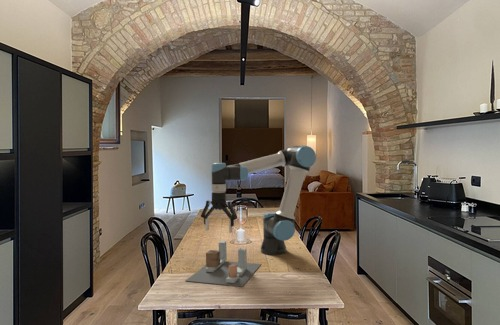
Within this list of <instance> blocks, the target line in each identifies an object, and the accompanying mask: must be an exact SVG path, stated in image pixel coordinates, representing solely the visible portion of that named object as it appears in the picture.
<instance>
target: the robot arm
mask: <svg viewBox="0 0 500 325" xmlns="http://www.w3.org/2000/svg"><path fill="white" fill-rule="evenodd" d="M316 160H317V154H316V152H315V150H314V148H312V147H311V146H308V145H294V146H290V147H288V148H285V149H282V150H279V151H278V152H277V153H273V154H269V155H266V156H261V157H258V158H254V159H251V160H250V159H249V160H247V161H243V162H239V163H235V164H229V165H227V164H226V162H213V163H212V164H211V200H210V199H207V200H206V201H205V206H204V207H203V209H202V210H203V211H201V214H200V217H201V218H202V219H203V224H204V225H205V226H204V228H205V232H208V231H210V219H209V217H210V215H211V214H212V213H213V212H214V210H220V211H221V210H222V211H223V212H224V214H226V216H227V217H228V219H229V220H228V233H229V234H231V233H233V227H234V226H235V223H234V222H235V220H237V219H238V215H237V213H236V211H235V209H234V207H233V202H232V201H231V200H230V201H227V200H226V198H227V181H229V182H230V181H247V180H248V177H249V175H250V174H254V173H258V172H261V171H265V170H269V169H273V168H277V167H287V166H288V167H289V169H290V172H289V175H288V177H287V178H288V179H287V182H286V184H285V188H284V192H283V196H282V198H281V202H280V205H279V208H278V210H277V211H276V212H266V213H264V214H263V216H262V217H263V218H262V222H263V223H262V224H263V228H262V229H263V232H262V233H263V239H262V243H261V246H260V252H261V253H262V254H265V255H282V254H285V253H286V252H287V246H286V243H285V241H288V240H291V239H292V238H293V237H294V235H295V233H296V227H295V222H296V221H295V220H296V216H295V215H294V214H295V211H296V207H297V204H298V202H299V198H300V194H301V190H302V187H303V184H304V179H305V177H306V174H308V173H309V172H310V170H311V167H312V166H314V164H315V163H316ZM210 205H211V207H210ZM226 205H227V206H226ZM209 207H210V208H209ZM208 209H209V210H208Z"/></svg>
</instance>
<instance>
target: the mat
mask: <svg viewBox="0 0 500 325" xmlns="http://www.w3.org/2000/svg"><path fill="white" fill-rule="evenodd" d="M230 264H236V265H237V267H238V261H227V260H226V261H225V262H224V263H223V264H222V265H221V266H220V267H219V268H217V269H216V270H215V271H214V272H206V268H207V267H206V264H205V265H204V266H202V267H201V268H200V269H198V270H197V271H196V272H195V273H193V274H192V275H191V276H189V277H188V278H187V279H185V282H187V283H198V284H208V285H219V286H230V287H239V288H243V287H244V286H245V285H246V283H248V281H250V279H251V277H252V276H253V275H254V274H255V273H256V272H257V270H258V269H259V268H260V267H261V265H262V263H252V262H247V269H246V270H245V272H244V273H243V274H242V275H241V276H239V279H238V280H237V281H236V282H235V283H227V282H226V278H227V277H228V276H229V265H230Z"/></svg>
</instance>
